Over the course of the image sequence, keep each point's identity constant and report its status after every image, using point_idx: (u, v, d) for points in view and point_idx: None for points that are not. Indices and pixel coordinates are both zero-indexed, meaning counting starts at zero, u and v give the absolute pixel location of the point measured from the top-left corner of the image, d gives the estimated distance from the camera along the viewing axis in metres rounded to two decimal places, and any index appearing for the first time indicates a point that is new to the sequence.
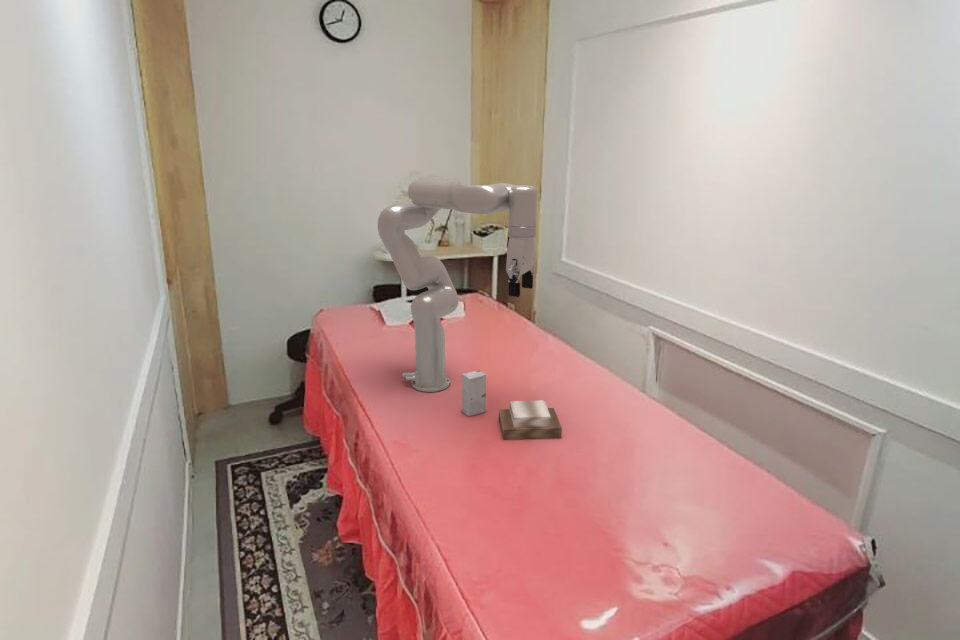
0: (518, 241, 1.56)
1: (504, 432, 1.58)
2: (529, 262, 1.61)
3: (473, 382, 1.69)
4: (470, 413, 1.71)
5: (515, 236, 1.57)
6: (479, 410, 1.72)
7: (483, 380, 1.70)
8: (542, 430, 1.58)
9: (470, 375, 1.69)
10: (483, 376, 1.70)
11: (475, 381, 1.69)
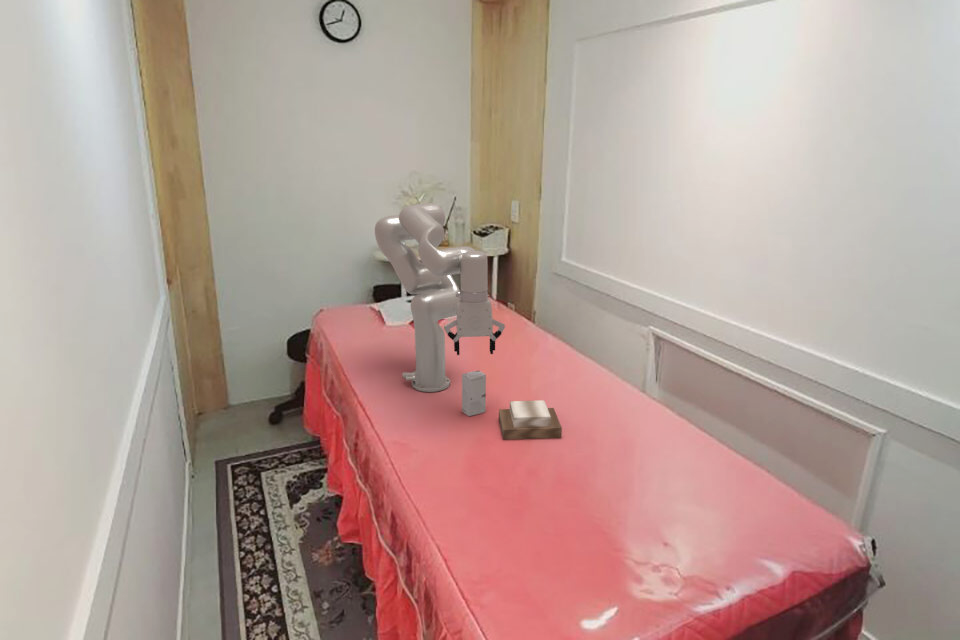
0: None
1: (504, 432, 1.58)
2: None
3: (473, 382, 1.69)
4: (470, 413, 1.71)
5: (487, 298, 1.63)
6: (479, 410, 1.72)
7: (483, 380, 1.70)
8: (542, 430, 1.58)
9: (470, 375, 1.69)
10: (483, 376, 1.70)
11: (475, 381, 1.69)
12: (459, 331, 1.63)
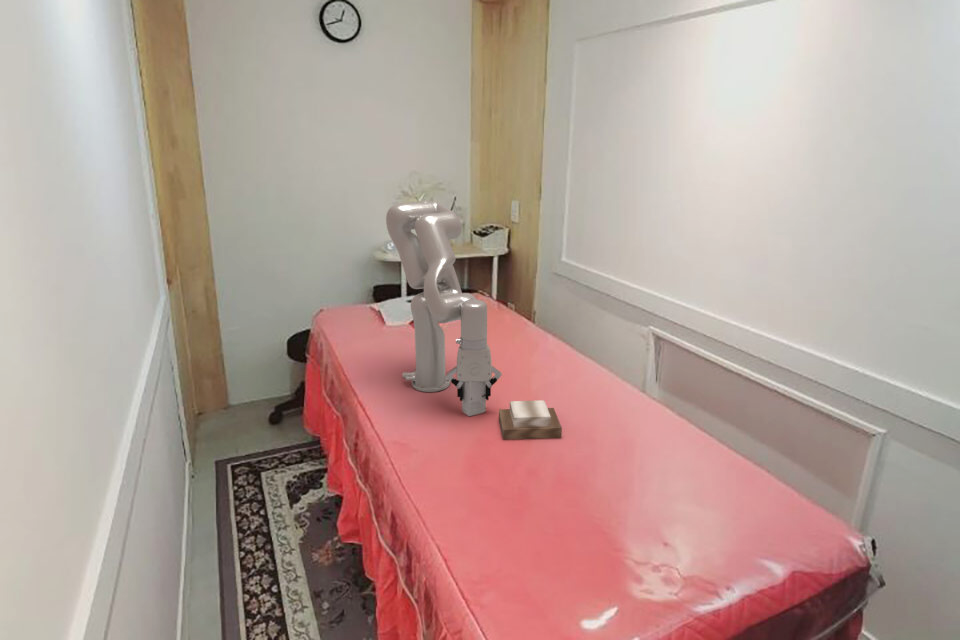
0: None
1: (504, 432, 1.58)
2: None
3: (474, 382, 1.69)
4: (470, 413, 1.71)
5: (486, 345, 1.67)
6: (479, 410, 1.72)
7: None
8: (542, 430, 1.58)
9: None
10: None
11: None
12: (459, 377, 1.67)
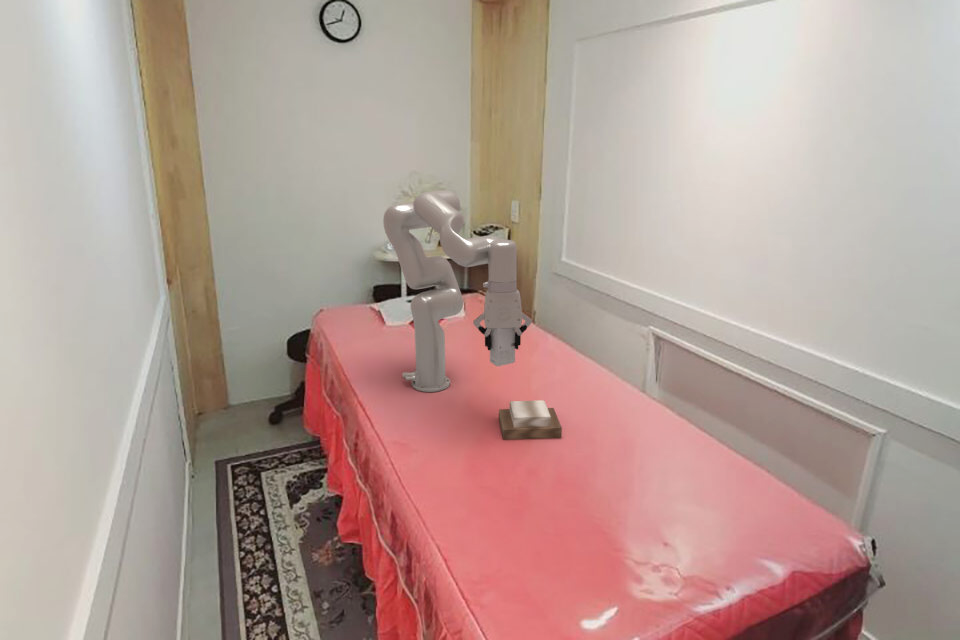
0: None
1: (504, 432, 1.58)
2: None
3: (502, 329, 1.58)
4: (499, 363, 1.60)
5: None
6: (508, 360, 1.61)
7: None
8: (542, 430, 1.58)
9: None
10: None
11: None
12: (487, 323, 1.57)
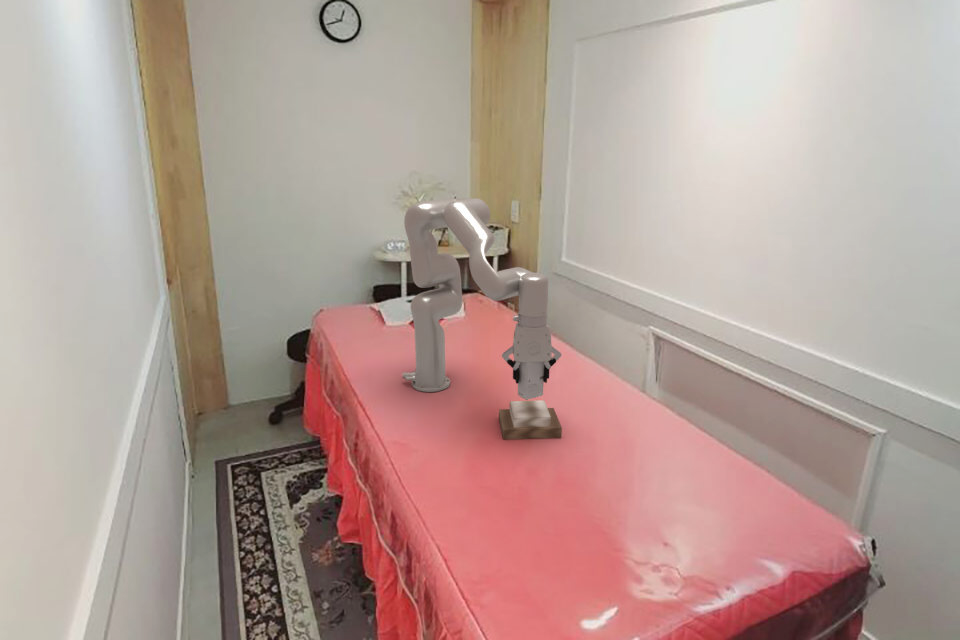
0: None
1: (504, 432, 1.58)
2: None
3: (532, 363, 1.56)
4: (527, 396, 1.58)
5: (546, 322, 1.55)
6: (537, 394, 1.60)
7: None
8: (542, 430, 1.58)
9: None
10: None
11: None
12: (516, 357, 1.55)
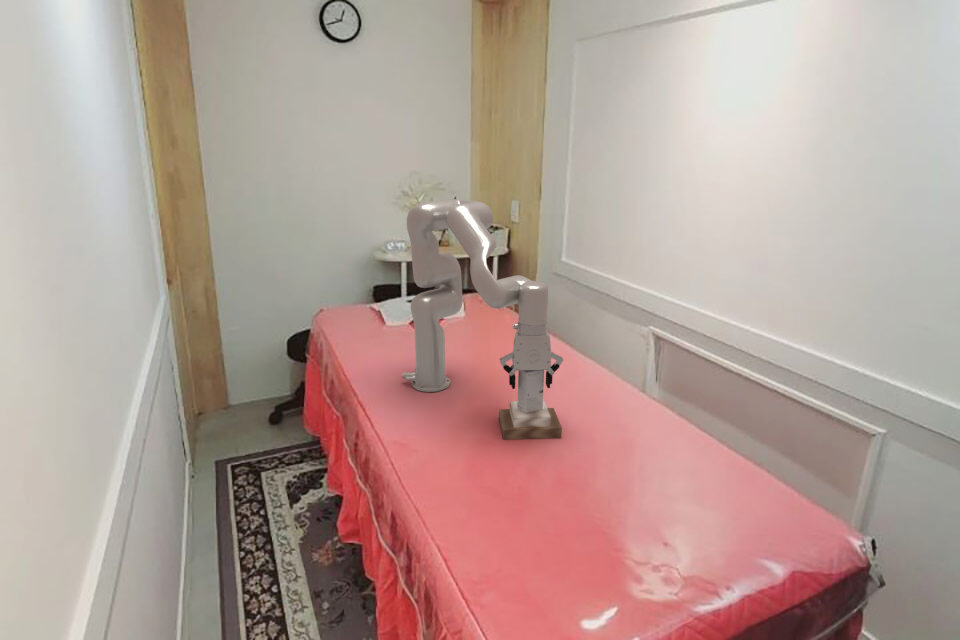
0: None
1: (504, 432, 1.58)
2: None
3: (531, 377, 1.58)
4: (527, 410, 1.60)
5: (546, 331, 1.55)
6: (536, 407, 1.61)
7: (541, 374, 1.59)
8: (542, 430, 1.58)
9: None
10: (541, 371, 1.59)
11: (532, 375, 1.58)
12: (516, 365, 1.55)
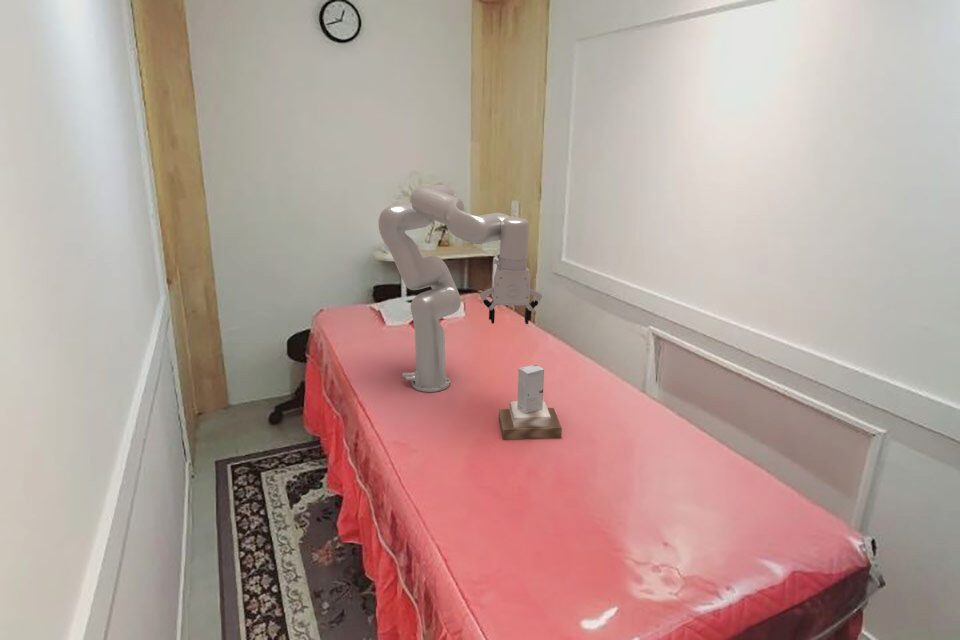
0: None
1: (504, 432, 1.58)
2: None
3: (531, 377, 1.58)
4: (527, 410, 1.60)
5: None
6: (536, 407, 1.61)
7: (541, 374, 1.59)
8: (542, 430, 1.58)
9: (527, 369, 1.58)
10: (541, 371, 1.59)
11: (532, 375, 1.58)
12: (496, 299, 1.59)
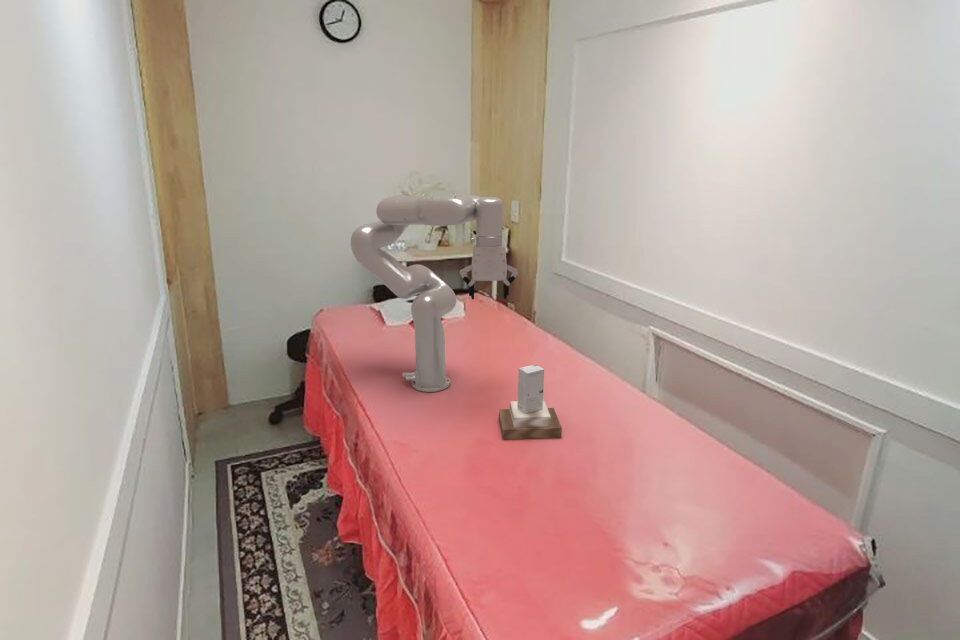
0: None
1: (504, 432, 1.58)
2: None
3: (531, 377, 1.58)
4: (527, 410, 1.60)
5: None
6: (536, 407, 1.61)
7: (541, 374, 1.59)
8: (542, 430, 1.58)
9: (527, 369, 1.58)
10: (541, 371, 1.59)
11: (532, 375, 1.58)
12: (474, 275, 1.69)
